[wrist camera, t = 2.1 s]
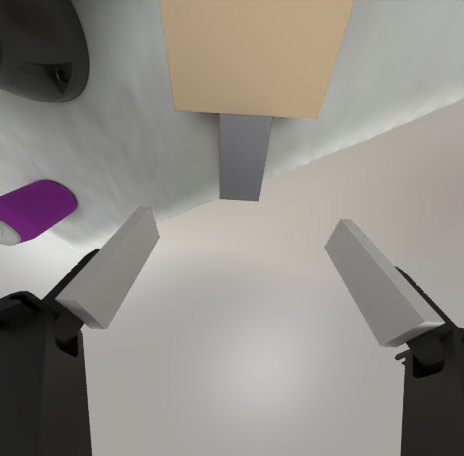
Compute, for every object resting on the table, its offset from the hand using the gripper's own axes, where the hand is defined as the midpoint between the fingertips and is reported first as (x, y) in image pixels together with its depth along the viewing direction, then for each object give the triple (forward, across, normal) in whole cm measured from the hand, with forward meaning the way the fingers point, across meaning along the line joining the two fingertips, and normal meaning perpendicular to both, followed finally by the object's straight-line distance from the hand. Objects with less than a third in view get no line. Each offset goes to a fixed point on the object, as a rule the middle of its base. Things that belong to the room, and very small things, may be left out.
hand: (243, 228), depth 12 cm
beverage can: (+21, -38, -11) cm, 45 cm away
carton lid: (+11, 0, +8) cm, 13 cm away
